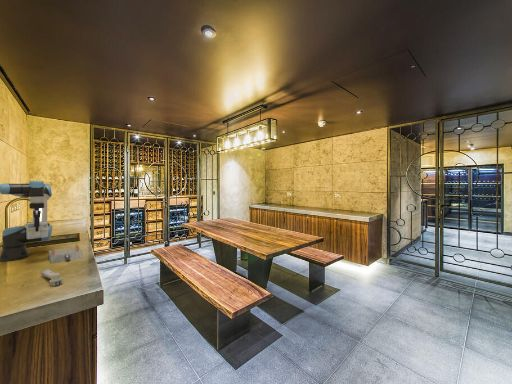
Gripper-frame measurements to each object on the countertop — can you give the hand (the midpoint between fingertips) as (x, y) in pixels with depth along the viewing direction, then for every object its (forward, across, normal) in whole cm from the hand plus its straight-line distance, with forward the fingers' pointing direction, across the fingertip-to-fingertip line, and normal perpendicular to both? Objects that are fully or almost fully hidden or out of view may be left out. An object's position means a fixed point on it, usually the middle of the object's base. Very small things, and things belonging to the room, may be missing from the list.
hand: (37, 235), depth 159 cm
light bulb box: (+2, 0, 0) cm, 2 cm away
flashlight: (+20, +47, +7) cm, 51 cm away
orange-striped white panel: (+19, 0, +15) cm, 25 cm away
